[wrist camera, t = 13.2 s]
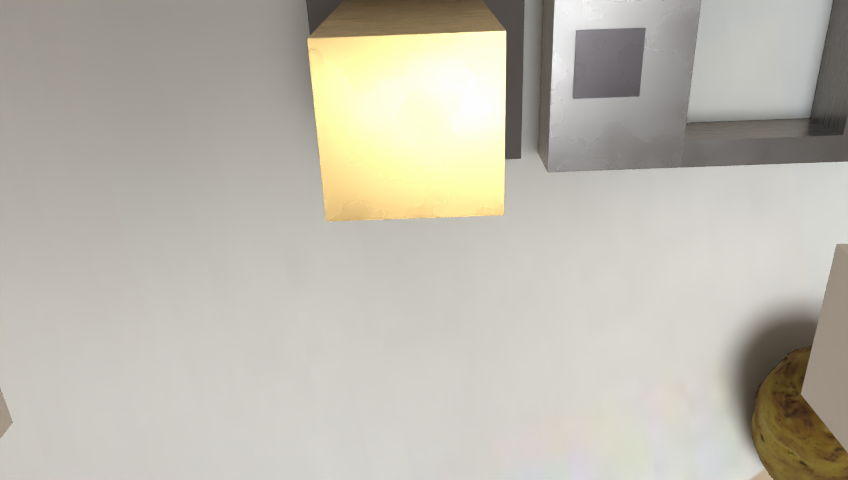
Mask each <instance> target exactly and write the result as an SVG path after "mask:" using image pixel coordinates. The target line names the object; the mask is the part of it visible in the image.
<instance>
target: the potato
mask: <svg viewBox="0 0 848 480" xmlns="http://www.w3.org/2000/svg"><path fill="white" fill-rule="evenodd" d="M811 349H812V345H811V346H809V347H806V348H802V349H798V350H795V351H793V352H792V353H789V354H788V356H787V357H785V358H784V359H783V360H782V362H781V363H779V364H778V365H777V366H776V367H774V368H773V369H772V370H771V371H770V373H769V374H768V376H767V377H766V378H765V380H764V382H763V383H762V384H761V385H759V386H758V389H757V391H756V397H755V398H756V402H755V409H754V412H753V416H752V423H751V426H752V439H753V442H754V445H755V448H756V450H757V453H758V455H759V458H760V460H761V462H762V464H763V465H764V467H765V468H766V470H767V471H768V473H769V475H770V476H771V477H772V478H773V479H774V480H848V453H847V451H846V450H845V449H844V448H843V446H842V445H841V444H840V443H839V441H838V440H837V439H836V438H835V436H834V435H833V434H832V433H831V431H830V430H829V429H828V428H827V426H826V425H825V424H824V423H823V421H822V420H821V419H820V418H819V416H818V415H817V414H816V413H815V411H814V410H813V409H812V408H811V406H810V405H809V404H808V403H807V401H806V400H805V399H804V398H803V396H802V395H801V391H802V387H803V383H804V379H805V374H806V370H807V366H808V362H809V358H810V354H811Z"/></svg>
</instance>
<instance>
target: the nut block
mask: <svg viewBox="0 0 848 480" xmlns="http://www.w3.org/2000/svg"><path fill="white" fill-rule="evenodd" d="M307 42H308V52H309V61H310V71H311V80H312V90H313V100H314V109H315V119H316V128H317V138H318V148H319V157H320V167H321V176H322V186H323V195H324V205H325V215H326V221H351V220H379V219H407V218H435V217H463V216H491V215H504V168H505V84H506V30H505V29H504V27H503V26H502V25H501V24H500V22H499V21H498V20H497V18H496V17H495V16H494V15H493V13H492V12H491V11H490V9H489V8H488V7H487V6H486V4H485V3H484V2H483V0H344V1H343V2H342V3H341V4H340V5H339V6H338V7H337V8H336V9H335V10H334V11H333V12H332V13H331V14H330V15H329V16H328V18H327V19H326V20H325V21H324V22H323V23H322V24H321V25H320V26H319V27H318V28H317V29H316V30H315V31H314V32H313V33H312V34H311V35H310V36H309V37H308V38H307Z"/></svg>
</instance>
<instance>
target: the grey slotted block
mask: <svg viewBox="0 0 848 480" xmlns="http://www.w3.org/2000/svg"><path fill="white" fill-rule="evenodd" d="M700 6H701V0H543V23H542V53H541V83H540V113H539V143H538V154H539V156H540V158H541V160H542V162H543V164H544V166H545V168H546V170H547V172H567V171H594V170H622V169H650V168H677V167H705V166H732V165H760V164H788V163H815V162H843V161H848V0H834V2H833V7H832V12H831V17H830V22H829V27H828V32H827V37H826V42H825V47H824V52H823V57H822V62H821V67H820V72H819V77H818V82H817V87H816V92H815V97H814V102H813V107H812V112H811V117H810V118H809V119H782V120H755V121H728V122H701V123H686V119H687V111H688V103H689V95H690V87H691V79H692V70H693V62H694V54H695V46H696V38H697V30H698V22H699V14H700Z"/></svg>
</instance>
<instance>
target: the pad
mask: <svg viewBox="0 0 848 480" xmlns="http://www.w3.org/2000/svg"><path fill="white" fill-rule="evenodd" d="M343 1H344V0H307V10H308V20H309V29H310V35H311V34H312V33H313V32H314V31H315V30H316V29H317V28H318V27H319V26H320V25H321V24H322V23H323V22H324V21H325V20H326V19H327V18H328V16H329V15H330V14H331V13H332V12H333V11H334V10H335V9H336V8H337V7H338V6H339V5H340V4H341V3H342V2H343ZM483 2H484V3H485V4H486V6H487V7H488V8H489V9H490V11H491V12H492V13H493V15H494V16H495V17H496V18H497V20H498V21H499V22H500V24H501V25H502V26H503V27H504V29H505V30H506V84H505V159H521V127H522V83H523V38H524V0H483Z"/></svg>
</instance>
